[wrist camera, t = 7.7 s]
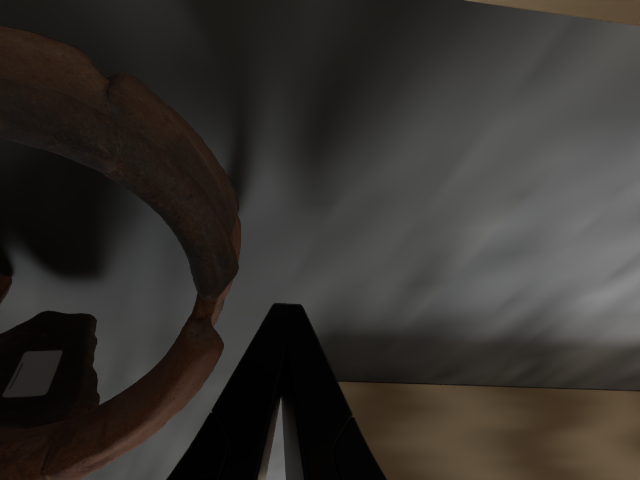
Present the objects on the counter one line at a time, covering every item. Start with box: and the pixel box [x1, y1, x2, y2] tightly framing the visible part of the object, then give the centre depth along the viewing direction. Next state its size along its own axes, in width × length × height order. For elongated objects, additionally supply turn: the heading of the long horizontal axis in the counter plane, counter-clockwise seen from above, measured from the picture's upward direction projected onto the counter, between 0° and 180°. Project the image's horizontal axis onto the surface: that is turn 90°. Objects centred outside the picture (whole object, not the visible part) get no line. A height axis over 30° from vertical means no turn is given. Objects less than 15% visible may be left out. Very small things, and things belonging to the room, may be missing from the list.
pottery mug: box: [0, 26, 241, 480], centre depth 9 cm, size 12×9×8 cm
